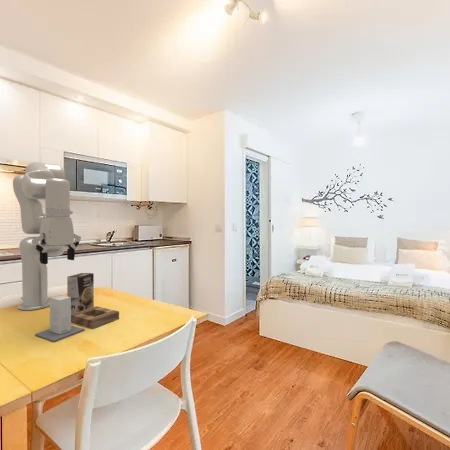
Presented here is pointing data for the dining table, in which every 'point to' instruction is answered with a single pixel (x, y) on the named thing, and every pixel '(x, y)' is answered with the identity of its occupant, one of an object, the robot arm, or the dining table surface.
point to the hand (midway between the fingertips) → (57, 261)
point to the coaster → (56, 337)
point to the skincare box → (60, 314)
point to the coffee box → (81, 291)
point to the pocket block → (94, 317)
